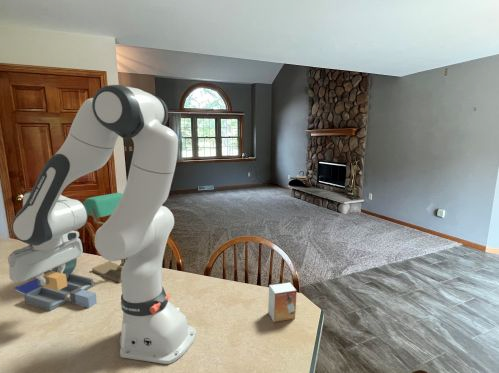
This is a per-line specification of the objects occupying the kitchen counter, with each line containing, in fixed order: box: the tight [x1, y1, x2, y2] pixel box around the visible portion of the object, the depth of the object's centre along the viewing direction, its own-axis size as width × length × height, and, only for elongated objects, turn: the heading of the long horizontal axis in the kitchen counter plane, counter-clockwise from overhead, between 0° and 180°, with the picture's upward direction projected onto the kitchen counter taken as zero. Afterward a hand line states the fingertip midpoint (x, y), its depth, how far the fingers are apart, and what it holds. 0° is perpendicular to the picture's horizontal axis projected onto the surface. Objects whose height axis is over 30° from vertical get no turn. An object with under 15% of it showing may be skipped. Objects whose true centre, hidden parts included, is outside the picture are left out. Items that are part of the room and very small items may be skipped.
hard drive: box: [13, 278, 41, 295], centre depth 106 cm, size 2×8×12 cm
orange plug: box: [36, 269, 67, 291], centre depth 86 cm, size 9×3×4 cm, turn 70°
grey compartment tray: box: [23, 272, 94, 312], centre depth 102 cm, size 13×17×3 cm
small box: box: [267, 282, 298, 323], centre depth 91 cm, size 8×6×10 cm
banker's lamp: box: [82, 192, 127, 284], centre depth 117 cm, size 16×21×35 cm
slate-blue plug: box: [70, 288, 98, 309], centre depth 97 cm, size 9×3×4 cm, turn 70°
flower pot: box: [51, 258, 78, 275], centre depth 118 cm, size 9×9×9 cm
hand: (52, 281), depth 86 cm, fingers closed on orange plug, 3 cm apart
